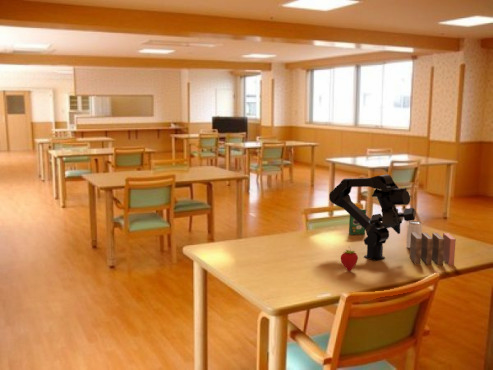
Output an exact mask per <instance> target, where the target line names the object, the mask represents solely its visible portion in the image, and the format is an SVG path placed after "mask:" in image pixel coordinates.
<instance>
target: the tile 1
mask: <svg viewBox="0 0 493 370" xmlns="http://www.w3.org/2000/svg"><path fill="white" fill-rule="evenodd" d="M421 245H422V238H421V237H420V236H419V235H418V234H417V233H416V232H411V242H410V249H409V258H410V259H411V260H412V262H413V263H414V264H415V265H421V262H422V261H421V260H422V259H421Z"/></svg>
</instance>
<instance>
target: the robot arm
mask: <svg viewBox="0 0 493 370" xmlns="http://www.w3.org/2000/svg"><path fill="white" fill-rule="evenodd" d="M393 179H394V178H393V177H392V176H391V175H390V174H382V175H381V174H380V175H376V176H373V177H372V176H371V177H358V178H357V177H353V178H351V177H347V178H343V179H342V180H341V181H340V183H339V184H337V186H336V187H334V189H332V190H331V191H330V193H329V194H328V195H329V201H330V202H331V203H332V204H333V205H335V206H337V207H338V208H341V209H343V210H345V211H346V212H347V213H348V215H349V216H350V215H351V216H352V217H353V218H354V219H355V220H356V221H357V222H358V223H359V224H360V225H361V226H362V227H363V228H364V229H365V234H366V237H365V238H364V239H363V243H364V245H365V246H366V247H367V248H366V254H365V255H364V256H363V257H364V258H366V259H369V260H373V261H379V260H384V259H386V257H385V256H384V254H383V252H384V249H383V248H384V246H383V245H384V244H386V242H387V240H388V239H389V237H390V231H389V230H388V229H390V228H391V229H393V231H394V232H396V233H397V235H399V234H401V225H402V223H403V220H404V221H406V222H409V221H415V220H416V216H417V211H416V209H415V208H414V207H409V208H405V209H404V212H401V211H399V209H398V208H397V205H398V206H408V205H409V204H410V203H411V195H410V192H409V191H408V189H407V187H402V188H401V187H400V188H399V187H398V185H397V184H396V183H395V181H394V180H393ZM362 187H363V188H365V187H366V188H372V189H375V190H374V191H373V193H372V194H371V197H372V198H376V199H377V201H378V203H379V206H380V208H381V210H380V211H381V213H382V214H381V213H377V214H372V215H371V218H370V217H369V216H368V215H367V213H366V214H365V213H364V212H363V211H361V210H360V209H361V208H359V206H357V205H356V204H355V203H354V202H353V201H352V199H351V196H350V193H351V191H352V188H362Z"/></svg>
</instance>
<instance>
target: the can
mask: <svg viewBox="0 0 493 370" xmlns="http://www.w3.org/2000/svg"><path fill="white" fill-rule="evenodd" d="M406 227H407V229H406V248H408V249H409V250H410V242H411V232H416V233H417V234H418V235H419V236H420V237H421V236H422V233H423V224H422V222H421V221H419V220H411V221H408V222H407V226H406Z"/></svg>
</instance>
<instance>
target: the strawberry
mask: <svg viewBox="0 0 493 370" xmlns="http://www.w3.org/2000/svg"><path fill="white" fill-rule="evenodd" d="M348 248H349V249H350V250H348V249H345V251H343V253H342V254H341V256H340V262H341V264H342V265H343V267H344V268H345V270H347V272H351V271H352V270H353V269H354V268H355V265H356V264H357V262H358V260H359V257H358V254H357V253H356V250H352V249H351V247H350V246H348Z"/></svg>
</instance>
